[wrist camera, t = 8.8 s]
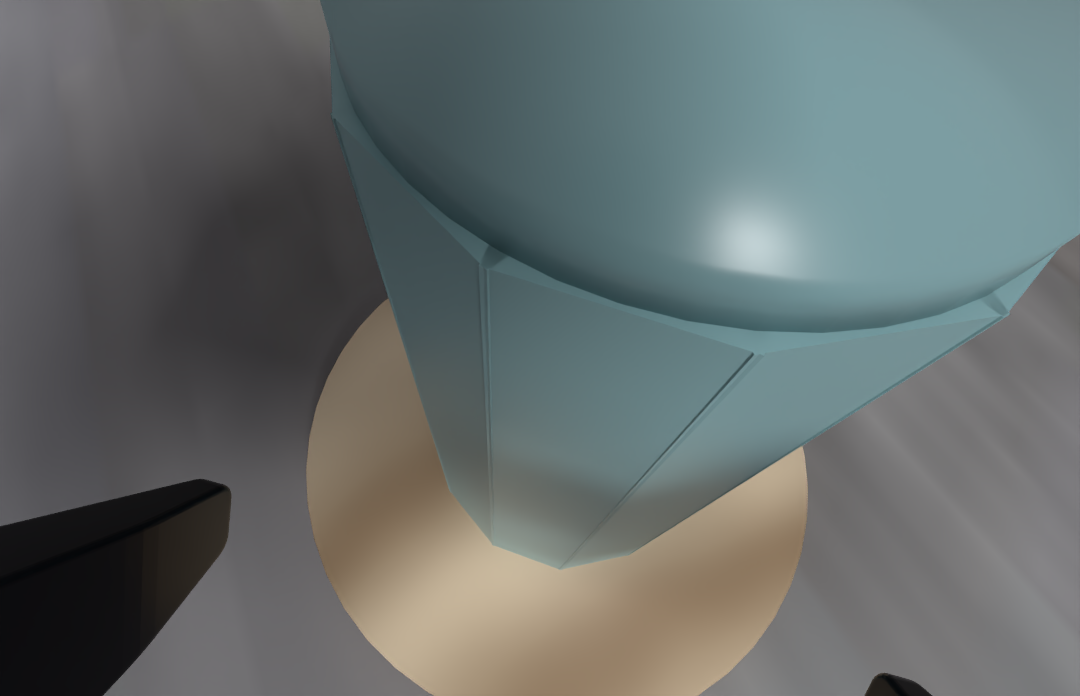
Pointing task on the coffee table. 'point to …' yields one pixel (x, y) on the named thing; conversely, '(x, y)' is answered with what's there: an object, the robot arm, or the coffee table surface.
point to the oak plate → (527, 561)
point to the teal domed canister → (690, 227)
